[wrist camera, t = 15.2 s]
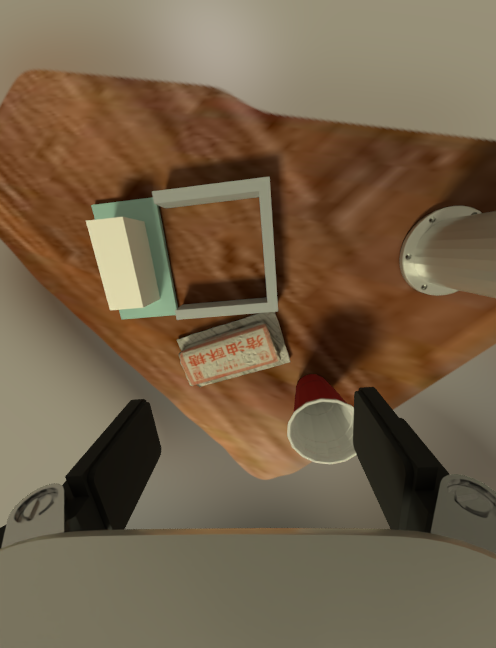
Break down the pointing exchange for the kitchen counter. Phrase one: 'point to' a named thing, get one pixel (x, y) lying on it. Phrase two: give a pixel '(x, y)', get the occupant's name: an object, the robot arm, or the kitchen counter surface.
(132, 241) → the carton
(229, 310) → the frame
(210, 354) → the packaged product
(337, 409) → the plastic cup
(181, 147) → the kitchen counter surface
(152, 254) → the pad
